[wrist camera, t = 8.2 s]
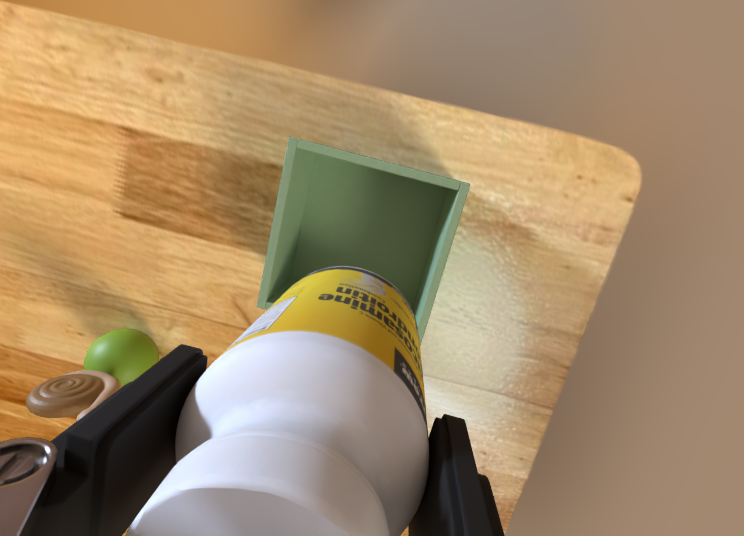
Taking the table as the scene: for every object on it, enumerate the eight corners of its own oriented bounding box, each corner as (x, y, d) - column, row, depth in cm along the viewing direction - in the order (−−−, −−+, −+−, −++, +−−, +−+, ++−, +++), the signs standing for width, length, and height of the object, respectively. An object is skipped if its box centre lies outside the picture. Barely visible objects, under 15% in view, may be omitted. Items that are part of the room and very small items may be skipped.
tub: (456, 181, 31) (470, 183, 25) (415, 317, 34) (418, 350, 27) (312, 143, 31) (288, 136, 25) (283, 282, 34) (256, 307, 28)
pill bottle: (438, 369, 18) (501, 702, 7) (311, 412, 19) (179, 762, 8) (385, 239, 17) (351, 376, 5) (252, 291, 18) (-8, 498, 6)
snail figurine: (181, 379, 37) (80, 473, 25) (116, 369, 37) (-14, 459, 26) (181, 325, 36) (74, 399, 24) (113, 316, 36) (-25, 384, 24)
